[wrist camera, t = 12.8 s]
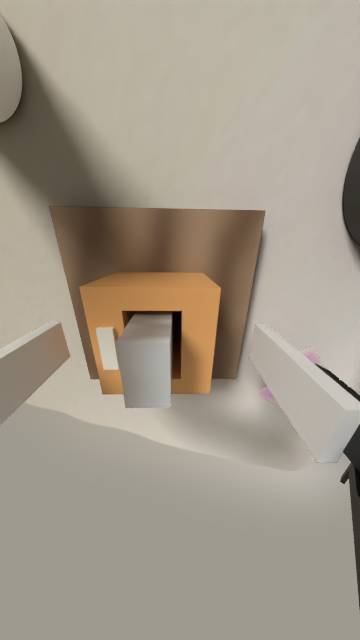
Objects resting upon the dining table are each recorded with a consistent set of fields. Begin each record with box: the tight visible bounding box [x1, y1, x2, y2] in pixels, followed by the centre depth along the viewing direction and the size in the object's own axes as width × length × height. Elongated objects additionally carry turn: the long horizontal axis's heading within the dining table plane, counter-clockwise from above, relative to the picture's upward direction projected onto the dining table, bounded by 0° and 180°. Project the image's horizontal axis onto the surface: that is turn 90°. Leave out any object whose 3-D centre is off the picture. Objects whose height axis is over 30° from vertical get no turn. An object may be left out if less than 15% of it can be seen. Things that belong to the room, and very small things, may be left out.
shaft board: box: [49, 206, 265, 408], centre depth 14 cm, size 18×18×12 cm
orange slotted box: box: [79, 272, 221, 394], centre depth 14 cm, size 8×8×7 cm
